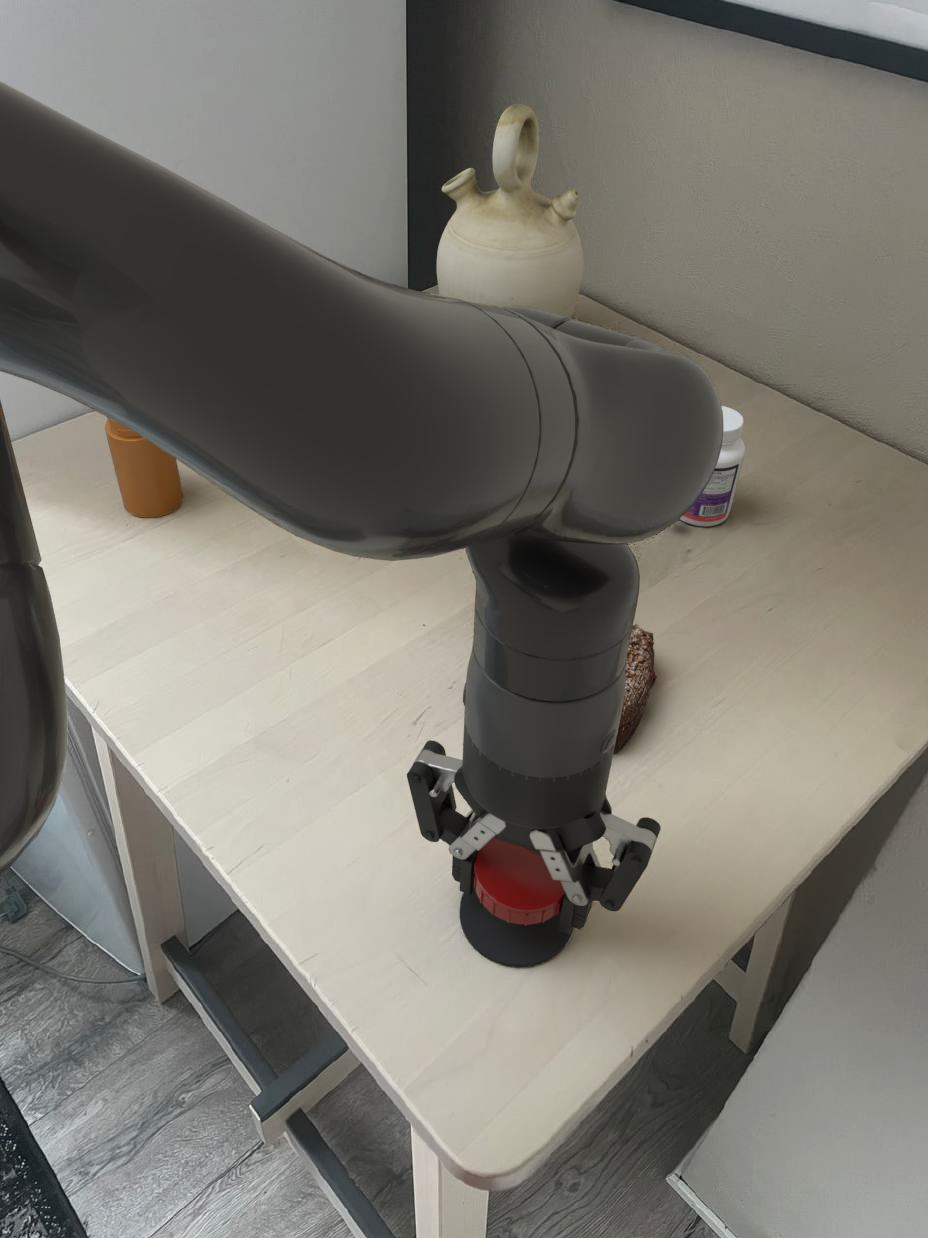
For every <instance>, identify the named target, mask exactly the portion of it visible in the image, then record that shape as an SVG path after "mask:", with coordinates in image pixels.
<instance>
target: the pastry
mask: <svg viewBox="0 0 928 1238" xmlns="http://www.w3.org/2000/svg"><path fill="white" fill-rule="evenodd" d="M654 646H655V640H654V633H653V632H652V631H648V630H644V629H642V628H641V627H640V626H639V625H638V624H637V623H635V624H633V627H632V632H631V637H630V643H629V648H628V653H627V658H626V666H625V674H626V680H625V697H624V703H623V708H622V713H621V718H620V723H619V728H618V733H617V738H616V743H615V748H614V753H613V755H614V754H617V753H618V752H620V751H622V749H623V748H624V747H625V746H626V745H627V744H628V743H629V742H630V740H631V739H632V737H633V735H634V734H635V733H636V731H637V729H638V727H639V725H640V722H641V721H642V718H643V716H644V712H645V709H646V707H647V704H648V701H649V696H650V693H651V691H652V688H653V686H654V684H655V682H656V681H657V679H658V675H657V674H656V671H655V650H654Z"/></svg>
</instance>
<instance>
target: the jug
mask: <svg viewBox="0 0 928 1238" xmlns="http://www.w3.org/2000/svg"><path fill="white" fill-rule="evenodd" d="M539 127H540V126H539V122H538V117H537V115H536V113H535V112H534V110H533V109H532V108H531V107H530V106H528V105H526V104H523V103H513V104H511V105H510V106H508V107H507V108H506V109H504V111H503V112H502V113H501V115H500V117H499V120H498V122H497V124H496V128H495V133H494V138H493V145H492V172H493V177H494V180H495V182H496V183H497V185H498V187H499V188H498V189H495V190H490V191H483V190H481V189H480V188H479V186H478V183H477V181H478V180H477V179H476V170H475V168H473V167H470V168H469V167H468V168H466V169H465V170H462V171H461V172H460V173H457V174H456V175H455V176H454V177H452V178H450V179H449V180H447V181H446V182H445V183H444V184H443V185H442V187H441V192H442V193H443V194H444V195H447V196H448V197H449V198H450V199H452V200H453V201H455V203H456V209H455V211H454V213H453V214H452V216H451V217H450V219H449V220H448V221H447V224H446V226H445V227H444V230H443V232H442V234H441V236H440V240H439V243H438V247H437V252H436V254H437V255H436V278H437V287H438V295H443V296H448V297H453V298H458V299H463V300H468V301H473V302H478V303H483V304H487V305H493V306H497V307H500V308H501V307H506V306H514V305H519V306H528V307H535V308H539V309H542V310H546V311H550V312H553V313H556V314H559V315H563V316H566V317H569V318H572V317H573V314H574V310H575V307H576V304H577V300H578V298H579V297H578V296H579V293H580V290H581V286H582V282H583V279H584V278H583V277H584V271H585V270H584V269H585V267H584V265H585V264H584V262H585V261H584V251H583V246H582V241H581V238H580V234H579V233H578V230H577V227H576V225H575V223H574V221H573V219H575V217H576V216H577V206H578V204H579V200H580V194H579V192H578V191H577V190H576V189H570V190H567V191H566V192H564V193H562V194H555V195H554V196H553V197H552V198H551V199H549V198H548V197H547V196H545V195H543V194H540V193H537V192H535V191H534V189H533V186H532V184H531V183H532V179H533V176H534V173H535V171H536V167H537V163H538V158H539V147H540V128H539Z"/></svg>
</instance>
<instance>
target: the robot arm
mask: <svg viewBox="0 0 928 1238" xmlns="http://www.w3.org/2000/svg"><path fill="white" fill-rule="evenodd" d="M0 372H1V373H5V374H7V375H11V376H13V377H17V378H20V379H23V380H25V381H26V380H27V381H28V382H29V381H30V382H32V383H34V384H37V385H39V386H41V387H43V388H46V389H49V390H52V391H53V392H56V393H58V394H60V395H64V396H65V397H68V398H69V399H71V400H73V401H75V402H77V403H79V404H81V405H83V406H85V407H87V408H88V409H90V410H93V411H94V412H97V413H98V414H100V415H102V416H105V417H106V418H107V417H108V418H110V419H112V420H114V421H115V422H117V423H119V424H121V425H123V426H125V427H127V428H129V429H130V430H132V431H133V432H135V433H137V434H138V435H140V436H141V437H143V438H144V439H146V440H148V441H149V442H151V443H152V444H154V445H155V446H157V447H159V448H160V449H162V450H163V451H165V452H166V453H168V454H170V455H171V456H173V457H174V458H176V461H177V460H178V461H179V462H180V463H182V464H183V465H185V466H186V467H188V469H190V470H192V471H193V472H195V473H196V474H197V475H199V476H200V477H202V478H203V479H205V480H206V481H207V482H209V483H210V484H212V485H213V486H215V487H216V488H217V489H219V490H220V491H222V492H224V493H225V494H226V495H228V496H230V497H231V498H232V499H234V500H236V501H237V502H239V503H241V504H242V505H244V506H245V507H247V508H248V509H250V510H251V511H253V512H254V513H256V514H257V515H259V516H261V517H262V518H264V519H265V520H267V521H269V522H271V523H272V524H273V525H275V526H277V527H279V528H281V529H282V530H284V531H286V532H288V533H289V534H292V535H294V536H295V537H297V538H300V539H303V540H305V541H307V542H310V543H312V544H314V545H317V546H319V547H322V548H325V549H327V550H330V551H333V552H336V553H339V554H342V555H347V556H350V557H356V558H362V559H369V560H377V561H390V562H394V561H395V562H396V561H397V562H398V561H407V560H418V559H419V560H420V559H426V558H433V557H439V556H441V555H446V554H448V553H452V552H455V551H459V550H463V549H465V553H466V556H467V559H468V562H469V564H470V567H471V571H472V573H473V576H474V579H475V595H474V612H473V613H474V616H473V617H474V618H473V635H472V638H473V640H472V648H471V652H470V657H469V660H468V665H467V669H466V679H465V683H464V687H463V693H462V703H463V706H464V716H463V717H464V719H463V737H462V738H463V740H462V741H463V742H462V759H460V758H456V757H452V756H447V753H446V749H445V747H444V746H443V745H442V744H441V742H438V741H436V740H428V741H426V742H425V744H424V746H423V747H422V749H421V750H420V752H419V753H418V754H417V756H416V758H415V759H414V761H413V763H412V765H411V766H410V768H409V769H408V772H407V773H406V779H407V783H408V786H409V791H410V795H411V798H412V803H413V806H414V808H413V809H414V811H415V815H416V820H417V823H418V828H419V832H420V835H421V836H422V837H423V839H425V840H426V841H428V842H430V843H438V842H439V841H440V840H441V841H442V842H444V843H446V844H447V845H448V846H449V847H448V851H449V853H450V855H452V862H451V864H452V865H451V876H452V878H453V880H454V881H455V882H457V883H459V892H461V893H462V894H463V893H466V894H468V895H472V893H473V891H474V874H473V873H474V863H475V860H476V856H477V853H478V851H479V850H480V849H481V848H482V847H483V846H484V845H485V844H487V843H488V842H489V841H490V840H491V839H492V838H493V837H494V836H495V839H498V840H501V841H503V842H506V843H509V844H514V845H519V846H522V847H524V848H525V849H527V850H529V851H531V852H533V853H535V854H537V855H540V856H542V857H543V860H544V862H545V864H546V866H547V868H548V870H549V873H550V875H551V877H552V879H553V880H555V881H560V882H561V885H562V887H563V889H564V891H565V893H566V894H565V896H564V899H563V904H562V909H561V915H560V921H559V927H558V930H559V931H561V932H564V933H566V934H570V932H571V930H572V928H573V929H576V930H579V931H581V930H582V929H583V928H585V925H586V923H587V921H588V917H589V916H590V913H591V910H592V907H593V904H594V902H599V905H600V906H601V907H602V908H603V909H604V910H606V911H609V912H613V913H615V912H619V911H620V910H621V909H622V907H623V905H624V904H625V902H626V900H627V899H628V898H629V896H630V894H631V892H632V891H633V890H634V888H635V886H636V884H637V883H638V881H639V880H640V879H641V877H642V875H643V874H644V873H645V871H646V869H647V867H648V865H649V863H650V860H651V858H652V854H653V852H654V849H655V846H656V843H657V840H658V838H659V835H660V832H661V830H662V826H661V825H660V822H658V821H657V820H655V819H654V818H651V817H645V816H643V817H640V818H639V819H638V821H637V823H636V824H634V823H631V822H629V821H628V820H625V819H623V818H621V817H619V816H617V815H614V814H613V809H612V806H611V803H610V801H609V800H608V798H607V787H608V783H609V778H610V773H611V767H612V764H613V758H614V754H615V753H614V748H615V743H616V738H617V733H618V728H619V723H620V718H621V713H622V708H623V703H624V697H625V680H626V674H625V666H626V658H627V653H628V648H629V643H630V637H631V632H632V627H633V625H634V621H635V617H636V612H637V608H638V602H639V596H640V588H641V587H640V585H641V576H640V569H639V564H638V561H637V558H636V556H635V553H633V551H632V549H631V548H630V545H629V544H635V543H637V542H642V541H644V540H647V539H649V538H651V537H654V536H656V535H658V534H661V533H662V532H663V531H665V530H667V529H668V528H670V527H671V526H673V525H675V523H676V522H678V521H679V520H680V518H681V517H682V516H683V515H684V514H685V513H686V512H687V511H688V510H689V509H690V508H691V507H692V506H693V505H694V503H695V502H696V501H697V500H698V498H699V497H700V495H701V494H702V492H703V491H704V489H705V488H706V486H707V484H708V483H709V481H710V479H711V477H712V475H713V472H714V470H715V467H716V465H717V462H718V459H719V455H720V451H721V447H722V440H723V412H722V406H723V405H722V402H721V399H720V395H719V391H718V390H717V387H716V385H715V383H714V380H713V379H712V377H711V376H710V374H709V373H708V371H707V370H706V369H705V368H704V367H703V366H702V365H701V364H700V363H699V362H698V361H696V360H695V359H694V358H692V357H691V356H689V355H688V354H685V353H684V352H682V351H679V350H677V349H674V348H671V347H668V346H665V345H662V344H659V343H656V342H652V341H650V340H649V341H648V340H645V339H642V338H639V337H635V336H632V335H629V334H625V333H622V332H619V331H615V330H611V329H608V328H605V327H601V326H598V325H594V324H591V323H588V322H585V321H581V320H578V319H574V318H572V317H571V318H569V317H566V316H563V315H559V314H556V313H553V312H550V311H546V310H542V309H539V308H535V307H528V306H519V305H514V306H506V307H501V308H500V307H497V306H493V305H487V304H483V303H478V302H473V301H468V300H463V299H458V298H453V297H448V296H443V295H439V293H438V294H437V293H432V292H428V291H421V290H417V289H412V288H408V287H404V286H401V285H397V284H394V283H391V282H387V281H385V280H381V279H380V278H379V279H378V278H376V277H373V276H371V275H368V274H366V273H362V272H360V271H358V270H356V269H354V268H352V267H350V266H347V265H346V264H343V263H341V262H339V261H336V260H334V259H332V258H330V257H328V256H326V255H324V254H322V253H321V252H318V251H316V250H315V249H313V248H312V247H309V246H307V245H306V244H304V243H302V242H300V241H299V240H296V239H295V238H293V237H291V236H289V235H288V234H286V233H284V232H282V231H280V230H278V229H276V228H275V227H272V226H270V225H268V224H267V223H265V222H263V221H261V220H260V219H258V218H256V217H254V216H252V215H250V214H249V213H248V212H245V211H244V210H242V209H241V208H239V207H237V206H235V205H234V204H232V203H231V202H229V201H227V200H225V199H224V198H221V197H220V196H218V195H216V194H214V193H213V192H211V191H209V190H207V189H205V188H203V187H201V186H199V185H198V184H196V183H194V182H192V181H191V180H189V179H186V178H185V177H183V176H181V175H179V174H178V173H176V172H174V171H172V170H170V169H169V168H167V167H165V166H163V165H161V164H159V163H158V162H156V161H153V160H152V159H150V158H147V157H146V156H143V155H142V154H139V153H137V152H136V151H133V150H132V149H129V148H128V147H126V146H124V145H122V144H119V143H117V142H116V141H114V140H112V139H110V138H108V137H106V136H104V135H102V134H101V133H99V132H96V131H94V130H92V129H91V128H89V127H87V126H85V125H83V124H82V123H80V122H78V121H76V120H74V119H72V118H71V117H68V116H66V115H65V114H64V113H61V112H59V111H57V110H56V109H53V108H52V107H50V106H48V105H46V104H45V103H42V102H40V101H39V100H36V99H35V98H33V97H31V96H30V95H28V94H26V93H24V92H22V91H20V90H18V89H16V88H14V87H12V86H11V85H9V84H6V83H5V82H3V81H1V80H0ZM5 416H6V415H5V412H4V408H3V404H2V400H1V399H0V880H1V879H2V878H3V877H4V876H5V874H6V873H7V872H8V871H9V869H10V868H11V867H12V866H13V865H14V863H16V861H17V860H18V859H19V858H20V856H22V855H23V853H24V852H25V851H26V850H27V848H28V847H29V846H30V845H31V844H32V842H33V841H34V840H35V839H36V838H37V837H38V835H39V834H40V832H41V831H42V829H43V827H44V825H45V824H46V822H47V820H48V818H49V816H50V814H51V812H52V810H53V809H54V807H55V806H56V805H55V804H56V802H57V799H58V796H59V792H60V789H61V786H62V783H63V780H64V777H65V774H66V768H67V767H66V766H67V760H68V729H69V728H68V725H69V724H68V719H69V718H68V717H69V711H68V700H67V698H68V697H67V691H66V690H67V689H66V680H65V679H66V678H65V671H64V664H63V654H62V647H61V646H62V645H61V638H60V633H59V627H58V624H57V619H56V613H55V610H54V609H55V608H54V604H53V601H52V600H53V599H52V595H51V592H50V587H49V585H48V581H47V577H46V575H45V571H44V568H43V567H42V566H41V565H40V563H41V562H42V556H41V553H40V549H39V545H38V541H37V536H36V533H35V532H36V531H35V529H34V525H33V521H32V518H31V513H30V509H29V507H28V506H29V504H28V501H27V498H26V493H25V490H24V486H23V483H22V478H21V474H20V471H19V466H18V462H17V459H16V455H15V452H14V447H13V444H12V439H11V435H10V432H9V431H10V430H9V428H8V424H7V420H6V417H5ZM613 753H614V754H613ZM453 783H454V786H455V788H456V790H457V791H458V793H459V794H460V796H462V798H463V800H464V801H465V802H466V804H467V805H468V806H469V808H470V811H469V812H468V813H467V814H466V815H463V814H461V813H460V812H458V811H457V808H458V807H457V803H456V797H455V792H454V787H453ZM602 838H603V839H605V840H606V841H607V842H608V844H609V849H608V850H609V853H610V854H611V855H612V856H613V857H612V859H611V863H612V865H611V868H609V867H604V866H603V867H602V865H601V863H600V861H599V858H598V855H597V853H596V851H595V849H594V842H597V841H598V840H599V841H600V839H602Z"/></svg>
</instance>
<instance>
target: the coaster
mask: <svg viewBox="0 0 928 1238" xmlns="http://www.w3.org/2000/svg"><path fill="white" fill-rule="evenodd" d="M560 915H561V910H560V912H559V914H558V915H557V914H556V915H555V916H553V917H552V918H550V919H548V920H546V921H544V923H542V922H540V923H536V924H529V925H527V926H525V925H521V924H514V923H510V922H509V923H507V921H504V920H502V919H500V918H498V917H496V916H495V915H492V913H491V912H489V911H488V910H487V909H486V908H485V906H484V905H483V904H482V903H480V899H479V898H478V895H477V893H476V890H475V889H474V891H473V893H472V895H468V894H466V893H463V892H462V895H461V898H460V903H459V921H460V927H461V929H462V932H463V934H464V936H465V938H466V940H467V942H468V943H469V944H470V945H471V946H472V947H473V949H474V950H475V951H476V952H478V954H480V955H481V956H482V957H484V958H485V959H487V960H489V961H491V962H492V963H495V964H498V965H499V966H500V965H501V966H504V967H509V968H518V969H520V968H521V969H522V968H523V969H524V968H530V967H531V968H532V967H536V966H539V965H542V964H545V963H547V962H549V961H550V960H552V959H554V958H555V957H556V956H557V955H559V954H560V953H561V952H562V951H563V950H564V949H565V947H566V946H567V945H568V944H569V941H570V939H571V937H572V936H573V931H574V928H572V930H571V932H570V934H566V933H564V932H561V931H559V930H558V927H559V921H560Z"/></svg>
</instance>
